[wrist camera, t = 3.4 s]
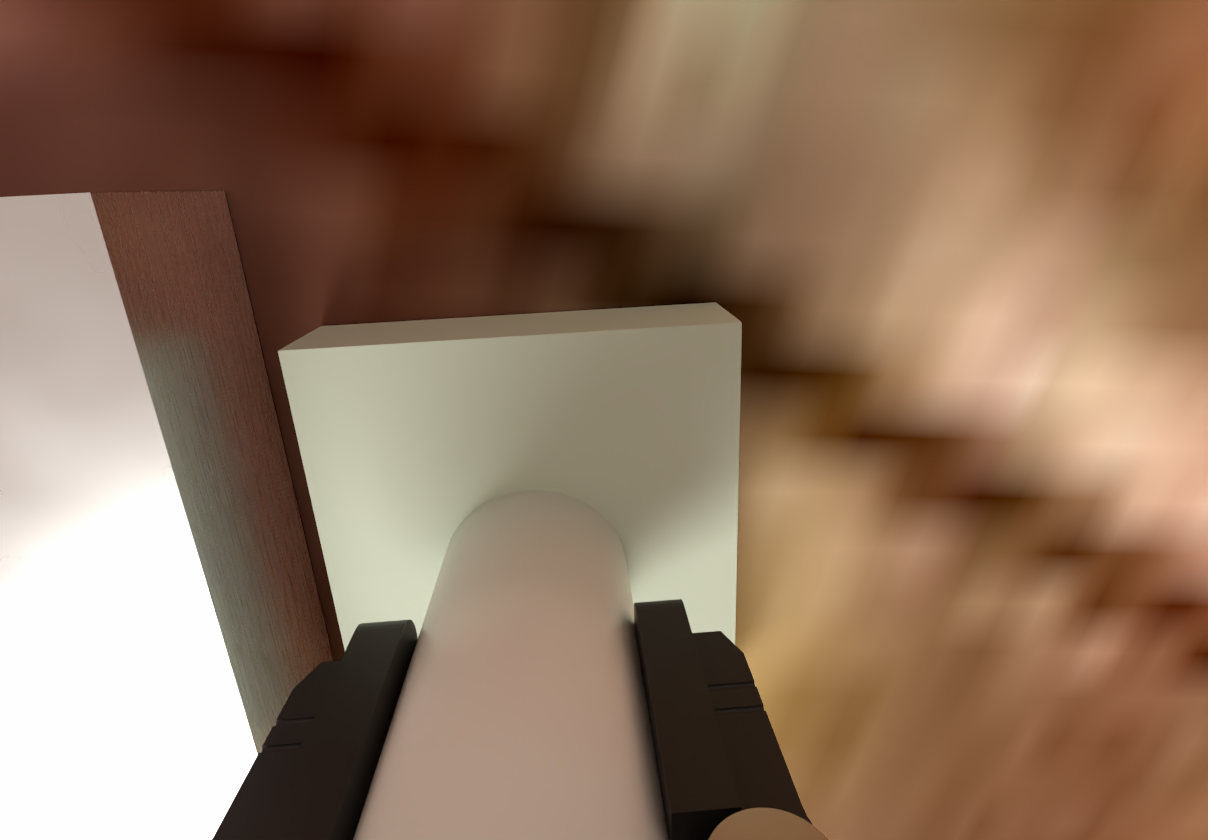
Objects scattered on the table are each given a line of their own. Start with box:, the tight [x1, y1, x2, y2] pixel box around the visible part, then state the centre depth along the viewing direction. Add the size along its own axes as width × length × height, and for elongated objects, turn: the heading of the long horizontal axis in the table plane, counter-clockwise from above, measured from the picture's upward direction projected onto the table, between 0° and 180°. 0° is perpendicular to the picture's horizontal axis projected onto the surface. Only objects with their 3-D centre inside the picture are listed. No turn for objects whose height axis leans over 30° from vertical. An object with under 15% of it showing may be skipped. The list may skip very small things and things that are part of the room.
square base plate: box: [278, 302, 742, 650], centre depth 13 cm, size 8×9×2 cm
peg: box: [353, 490, 669, 840], centre depth 9 cm, size 3×3×8 cm
